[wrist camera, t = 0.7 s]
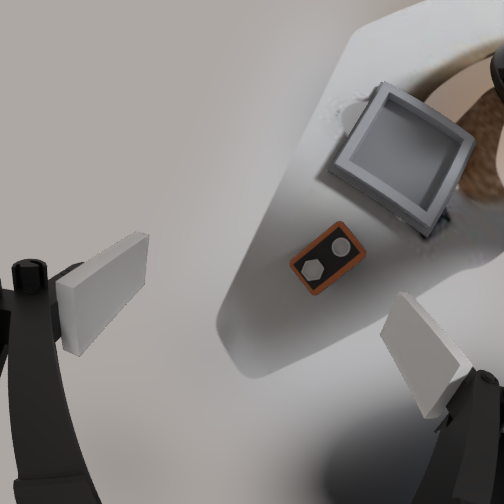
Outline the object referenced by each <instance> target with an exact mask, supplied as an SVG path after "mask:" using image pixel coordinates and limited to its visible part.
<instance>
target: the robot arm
mask: <svg viewBox="0 0 504 504" xmlns="http://www.w3.org/2000/svg"><path fill="white" fill-rule="evenodd" d="M490 71H491V77H492V80H493V83H494V86H495V88H496V90H497V92H498V94H499V96H500V98H501V99H502V101H503V102H504V44H503V45H502V46H500V47H499V48H498V49H497V50H496V52H495V54H494V55H493V57H492V59H491V63H490ZM148 243H149V235H148V234H144V233H139V232H134V233H133V234H131V235H129V236H127V237H126V238H124V239H123V240H121V241H119V242H117V243H116V244H114V245H112V246H111V247H109V248H107V249H106V250H104V251H103V252H101V253H99V254H98V255H96V256H94V257H93V258H91V259H90V260H88V261H86V262H81V263H77V264H73V265H71V266H70V267H68V268H67V269H66V270H63V271H62V272H60V273H59V274H57V275H55V276H54V277H52V278H51V279H49V280H48V277H47V265H46V263H45V262H43V261H41V260H38V259H24V260H21V261H18V262H16V263H14V264H13V266H12V276H13V285H14V291H13V290H7V289H2V286H1V279H0V377H1V373H2V370H3V367H4V364H5V361H6V358H7V355H8V396H9V412H10V423H11V432H12V440H13V447H14V453H15V459H16V464H17V469H18V479H16V480H14V484H13V489H14V494H15V499H16V503H17V504H102V503H101V500H100V498H99V496H98V493H97V491H96V489H95V487H94V484H93V482H92V479H91V477H90V474H89V472H88V469H87V466H86V464H85V461H84V458H83V455H82V452H81V450H80V447H79V444H78V440H77V437H76V434H75V431H74V427H73V424H72V420H71V417H70V413H69V409H68V405H67V401H66V397H65V393H64V388H63V384H62V379H61V373H60V368H59V363H58V356H57V350H56V345H55V342H56V341H57V340H58V339H59V338H60V337H61V339H62V345H63V350H65V351H68V352H70V353H72V354H74V355H77V356H79V357H80V356H81V355H82V354H83V353H84V351H85V350H86V349H87V348H88V347H89V345H90V344H91V343H92V342H93V341H94V340H95V339H96V338H97V336H98V335H99V334H100V333H101V332H102V331H103V330H104V328H105V327H106V326H107V325H108V324H109V323H110V322H111V320H112V319H113V318H114V317H115V316H116V315H117V314H118V313H119V312H120V311H121V309H122V308H123V307H124V306H125V305H126V304H127V303H128V302H129V301H130V300H131V299H132V298H133V296H134V295H135V294H136V293H137V292H138V291H139V290H140V289H141V288H142V287H143V286H144V284H145V272H146V262H147V252H148ZM380 336H381V337H382V339H383V341H384V343H385V344H386V346H387V348H388V350H389V352H390V353H391V355H392V357H393V359H394V361H395V363H396V364H397V366H398V368H399V370H400V372H401V374H402V376H403V378H404V380H405V381H406V383H407V385H408V387H409V389H410V391H411V393H412V395H413V397H414V398H415V401H416V402H417V405H418V407H419V409H420V411H421V413H422V415H423V417H424V418H425V419H427V418H438V416H439V415H440V414H441V413H442V411H443V410H444V409H445V407H446V408H447V410H448V411H449V413H448V415H447V416H446V417H445V418H444V420H443V421H442V422H441V424H440V425H439V426H438V427H437V429H436V430H435V431H434V432H435V433H436V432H437V431H438V430H440V433H439V436H438V439H437V442H436V445H435V447H434V450H433V453H432V456H431V458H430V461H429V463H428V466H427V468H426V471H425V473H424V475H423V477H422V480H421V482H420V484H419V486H418V489H417V491H416V493H415V495H414V497H413V499H412V501H411V503H410V504H504V433H503V428H504V387H501V386H499V382H498V380H497V379H496V378H495V377H494V375H493V374H491V373H489V372H487V371H484V370H478V371H476V370H475V369H474V368H473V365H472V363H471V362H470V361H469V360H468V359H467V357H466V356H465V355H464V354H463V353H462V352H461V350H460V349H459V348H458V347H457V346H456V344H455V343H454V342H453V341H452V340H451V339H450V337H449V336H448V335H447V334H446V333H445V332H444V330H443V329H442V328H441V327H440V326H439V325H438V324H437V322H436V321H435V320H434V319H433V318H432V317H431V316H430V315H429V314H428V313H427V311H426V310H425V309H424V308H423V307H422V306H421V305H420V304H419V303H418V302H417V301H416V299H415V298H414V297H413V296H412V295H411V294H410V293H406V292H401V291H398V294H397V296H396V299H395V301H394V303H393V306H392V308H391V311H390V313H389V315H388V318H387V320H386V322H385V324H384V327H383V329H382V331H381V333H380Z"/></svg>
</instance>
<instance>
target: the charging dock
mask: <svg viewBox="0 0 504 504" xmlns="http://www.w3.org/2000/svg"><path fill="white" fill-rule="evenodd" d="M474 139H475V137H473V136H472V135H471V134H469V133H468V132H466V131H465V130H464V129H462V128H461V127H460V126H458V125H457V124H455V123H454V122H452V121H451V120H449V119H448V118H447V117H445V116H444V115H442V114H440V113H439V112H437V111H436V110H434V109H433V108H431V107H429V106H428V105H426V104H425V103H423V102H421V101H420V100H418V99H416V98H415V97H413V96H411V95H409V94H408V93H406V92H404V91H402V90H400V89H399V88H397V87H395V86H393V85H391V84H389V83H387V82H385V81H384V83H383V82H381V83H380V85H379V86H378V88H377V90H376V91H375V93H374V95H373V96H372V98H371V100H370V101H369V103H368V105H367V106H366V108H365V110H364V111H363V113H362V114H361V116H360V118H359V119H358V121H357V123H356V124H355V126H354V128H353V129H352V131H351V132H350V134H349V136H348V137H347V139H346V141H345V142H344V144H343V145H342V147H341V149H340V150H339V152H338V153H337V155H336V157H335V158H334V160H333V161H332V163H331V165H330V166H329V168H328V171H329V172H331V173H332V174H334V175H336V176H337V177H339V178H341V179H342V180H344V181H345V182H347V183H349V184H350V185H352V186H353V187H355V188H356V189H358V190H360V191H361V192H363V193H364V194H366V195H367V196H369V197H370V198H372V199H373V200H375V201H376V202H378V203H379V204H381V205H382V206H384V207H385V208H386V209H388V210H389V211H391V212H392V213H394V214H395V215H397V216H398V217H399V218H401V219H402V220H404V221H405V222H406V223H408V224H409V225H410V226H412V227H413V228H415V229H416V230H417V231H419V232H420V233H421V234H423V235H424V236H425V237H429V235H430V233H431V232H432V230H433V228H434V226H435V225H436V223H437V221H438V219H439V218H440V216H441V214H442V212H443V210H444V209H445V207H446V205H447V203H448V201H449V199H450V197H451V195H452V193H453V191H454V190H455V188H456V186H457V184H458V182H459V180H460V177H461V175H462V173H463V171H464V169H465V167H466V165H467V163H468V161H469V158H470V156H471V154H472V152H473V149H474V147H475V145H476V141H475V140H474Z"/></svg>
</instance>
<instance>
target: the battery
mask: <svg viewBox="0 0 504 504" xmlns="http://www.w3.org/2000/svg"><path fill="white" fill-rule="evenodd" d="M365 256H366V251H365V249H364V248H363V246H362V245H361V244H360V242H359V241H358V240H357V239H356V237H355V236H354V235H353V234H352V232H351V231H350V230H349V229H348V227H347V226H346V225H345V224H344V223H343V222H342V221H338V222H336V223H335V224H333V225H332V226H331V227H330V228H329V229H327V230H326V231H325V232H324V233H323V234H322V235H320V236H319V237H318V238H317V239H316V240H314V241H313V242H312V243H311V244H310V245H308V246H307V247H306V248H305V249H304V250H302V251H301V252H300V253H299V254H298V255H296V256H295V257H294V258H293V259H292V260H291V261H290V263H289V265H290V267H291V268H292V270H293V271H294V272H295V273H296V275H297V276H298V277H299V279H300V280H301V281H302V283H303V284H304V285H305V286H306V288H307V289H308V290H309V292H310V293H311V294H312V295H318V294H319V293H321V292H322V291H323V290H325V289H326V288H327V287H328V286H330V285H331V284H332V283H334V282H335V281H336V280H337V279H339V278H340V277H341V276H342V275H344V274H345V273H346V272H347V271H349V270H350V269H351V268H352V267H354V266H355V265H356V264H357V263H359V262H360V261H361V260H362V259H363V258H364V257H365Z"/></svg>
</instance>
